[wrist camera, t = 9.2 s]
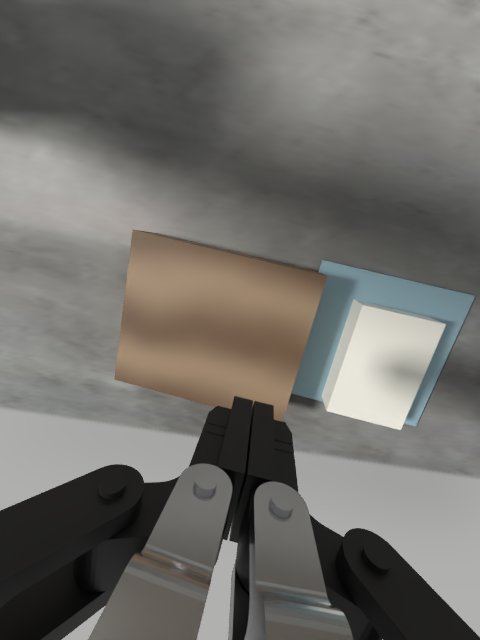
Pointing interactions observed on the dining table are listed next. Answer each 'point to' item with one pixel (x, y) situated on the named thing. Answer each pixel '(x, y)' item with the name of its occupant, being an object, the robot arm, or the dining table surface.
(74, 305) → the dining table surface
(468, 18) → the dining table surface
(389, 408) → the white bevelled block
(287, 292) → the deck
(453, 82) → the dining table surface
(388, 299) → the mat
